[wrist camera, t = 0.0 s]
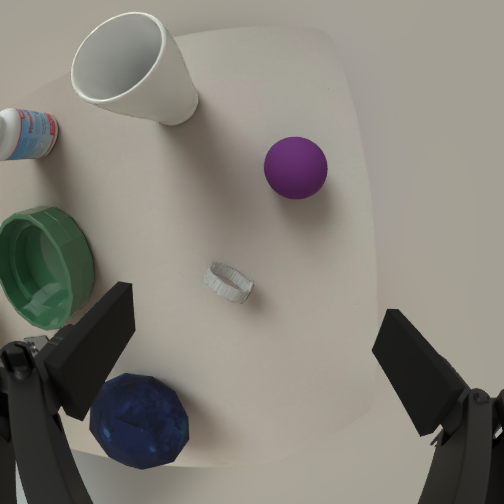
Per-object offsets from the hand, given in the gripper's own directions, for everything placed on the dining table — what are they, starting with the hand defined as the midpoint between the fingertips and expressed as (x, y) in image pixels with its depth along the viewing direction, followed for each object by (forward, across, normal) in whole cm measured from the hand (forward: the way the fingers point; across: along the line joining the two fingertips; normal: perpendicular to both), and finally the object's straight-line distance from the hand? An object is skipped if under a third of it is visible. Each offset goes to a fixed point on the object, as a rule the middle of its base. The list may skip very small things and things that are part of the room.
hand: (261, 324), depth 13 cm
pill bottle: (+18, -29, +11) cm, 36 cm away
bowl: (+18, -27, -6) cm, 33 cm away
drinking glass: (+18, -10, +14) cm, 25 cm away
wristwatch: (+18, -2, -4) cm, 19 cm away
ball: (+15, +3, +8) cm, 17 cm away
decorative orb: (+18, -13, -26) cm, 34 cm away
